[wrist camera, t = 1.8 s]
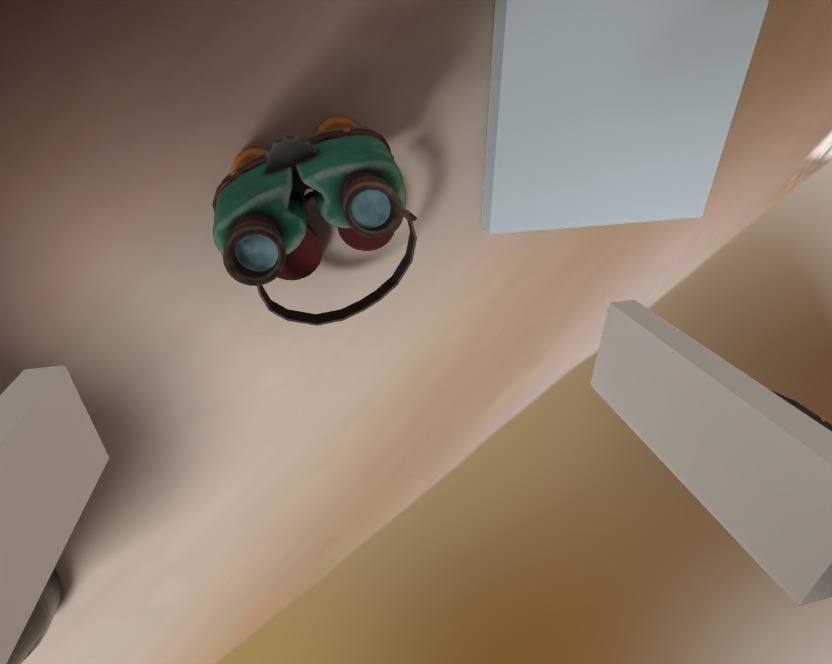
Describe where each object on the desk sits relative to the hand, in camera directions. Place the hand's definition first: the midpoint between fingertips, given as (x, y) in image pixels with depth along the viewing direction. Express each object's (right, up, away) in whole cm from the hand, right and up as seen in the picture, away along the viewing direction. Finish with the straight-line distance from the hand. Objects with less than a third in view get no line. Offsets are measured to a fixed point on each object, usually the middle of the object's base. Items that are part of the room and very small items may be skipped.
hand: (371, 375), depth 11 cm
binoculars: (-4, +8, +14) cm, 17 cm away
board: (+12, +15, +14) cm, 24 cm away
